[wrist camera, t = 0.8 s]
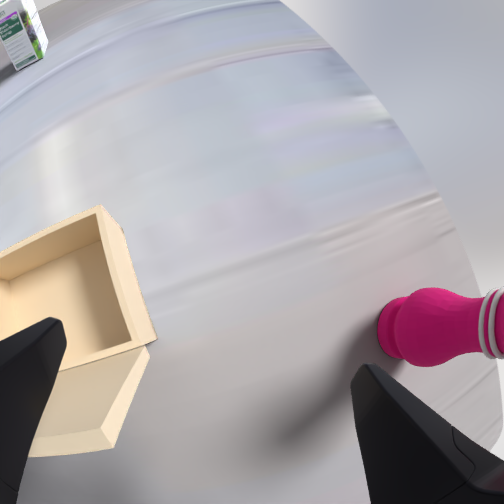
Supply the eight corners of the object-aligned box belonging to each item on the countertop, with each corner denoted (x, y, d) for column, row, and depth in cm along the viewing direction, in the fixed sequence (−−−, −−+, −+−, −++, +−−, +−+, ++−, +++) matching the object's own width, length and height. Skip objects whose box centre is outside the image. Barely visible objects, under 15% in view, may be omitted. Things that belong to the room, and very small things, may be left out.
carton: (157, 338, 22) (141, 345, 16) (35, 376, 19) (-1, 386, 13) (122, 229, 23) (100, 204, 18) (9, 278, 20) (-27, 267, 15)
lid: (145, 345, 16) (150, 358, 16) (-2, 387, 13) (3, 397, 13) (100, 428, 6) (115, 450, 6) (-75, 436, 3) (-67, 450, 3)
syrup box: (16, 72, 26) (-14, 14, 12) (22, 54, 26) (-2, 0, 13) (44, 57, 27) (18, -6, 13) (49, 41, 28) (29, -18, 14)
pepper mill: (431, 338, 26) (591, 327, 6) (386, 376, 24) (568, 403, 5) (410, 281, 27) (578, 229, 7) (361, 314, 25) (565, 285, 6)
